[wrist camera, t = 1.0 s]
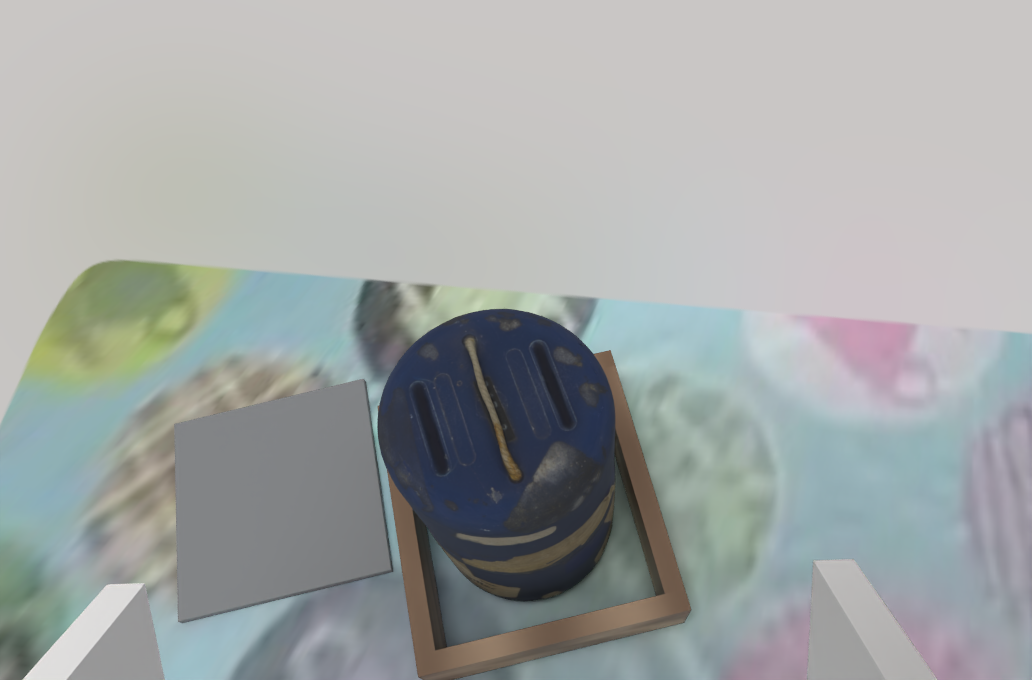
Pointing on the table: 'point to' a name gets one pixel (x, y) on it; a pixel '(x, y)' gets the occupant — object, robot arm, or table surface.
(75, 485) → the table surface
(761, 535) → the table surface
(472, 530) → the canister
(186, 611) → the mat
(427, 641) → the holder
